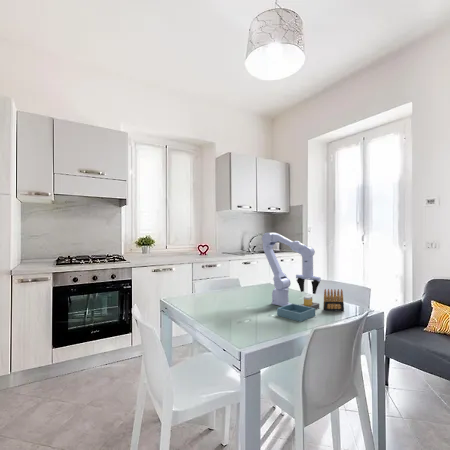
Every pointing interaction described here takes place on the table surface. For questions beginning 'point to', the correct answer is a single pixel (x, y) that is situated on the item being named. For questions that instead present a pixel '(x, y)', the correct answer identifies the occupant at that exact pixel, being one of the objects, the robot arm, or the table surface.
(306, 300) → the block
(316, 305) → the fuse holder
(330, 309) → the ammunition clip
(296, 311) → the parts tray
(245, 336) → the table surface
